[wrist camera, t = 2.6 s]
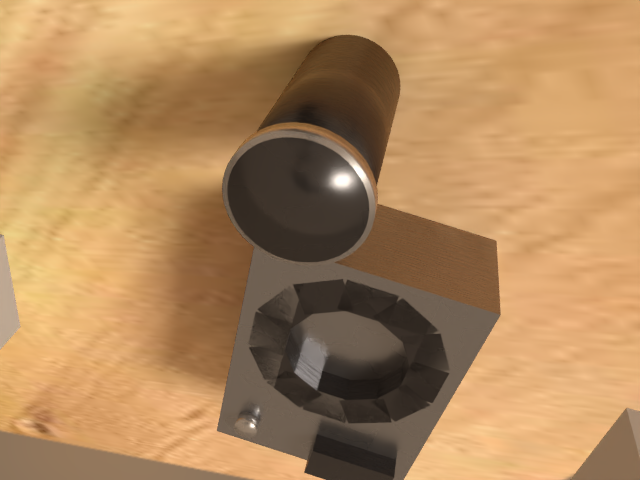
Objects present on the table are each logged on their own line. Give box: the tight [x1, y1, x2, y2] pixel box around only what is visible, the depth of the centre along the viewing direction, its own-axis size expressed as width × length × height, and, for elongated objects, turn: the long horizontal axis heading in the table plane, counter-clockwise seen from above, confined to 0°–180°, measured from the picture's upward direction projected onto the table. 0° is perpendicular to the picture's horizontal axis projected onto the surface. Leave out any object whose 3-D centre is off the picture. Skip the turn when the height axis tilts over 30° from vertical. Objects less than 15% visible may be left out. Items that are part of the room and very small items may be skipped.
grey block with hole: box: [217, 204, 501, 480], centre depth 35 cm, size 12×16×7 cm
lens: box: [222, 35, 400, 266], centre depth 25 cm, size 5×5×11 cm
